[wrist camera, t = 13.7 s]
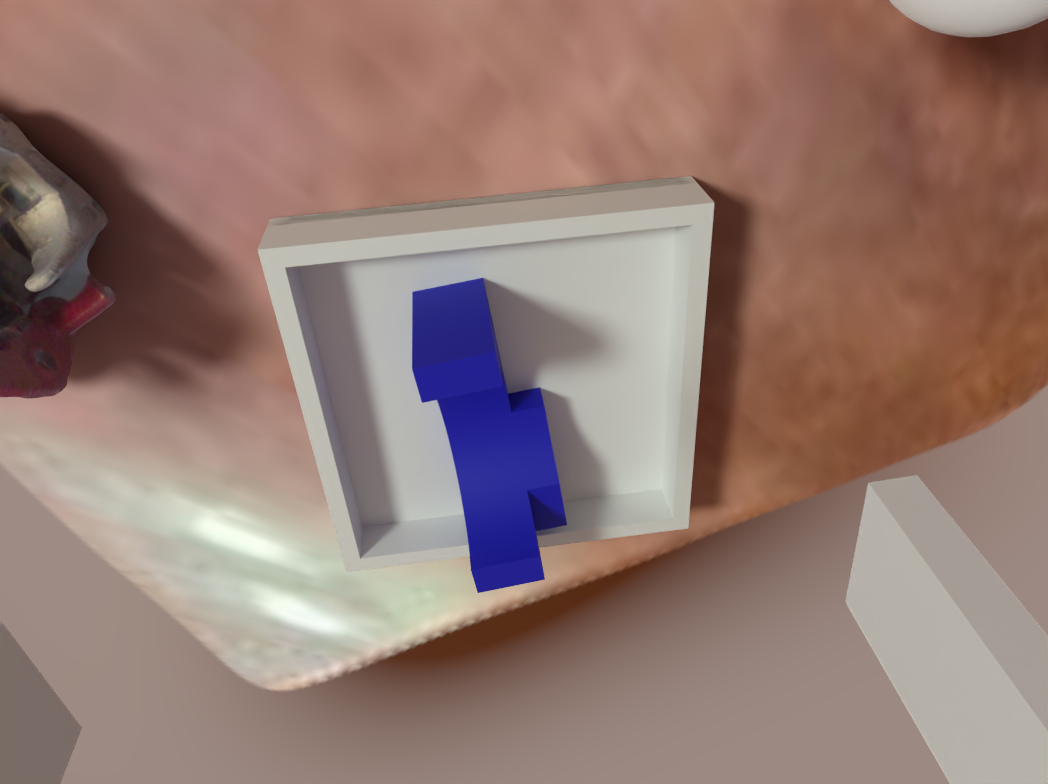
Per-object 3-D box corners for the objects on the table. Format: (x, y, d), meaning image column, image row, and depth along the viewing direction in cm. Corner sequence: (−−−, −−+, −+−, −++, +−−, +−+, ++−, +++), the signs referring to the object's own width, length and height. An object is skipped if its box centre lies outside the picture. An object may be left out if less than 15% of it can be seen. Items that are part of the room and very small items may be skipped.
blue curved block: (557, 483, 39) (578, 572, 34) (470, 501, 39) (477, 592, 34) (518, 270, 32) (537, 344, 28) (412, 291, 32) (412, 369, 28)
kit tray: (691, 176, 32) (714, 202, 29) (671, 488, 42) (688, 528, 39) (270, 218, 31) (257, 249, 28) (350, 528, 41) (346, 572, 38)
